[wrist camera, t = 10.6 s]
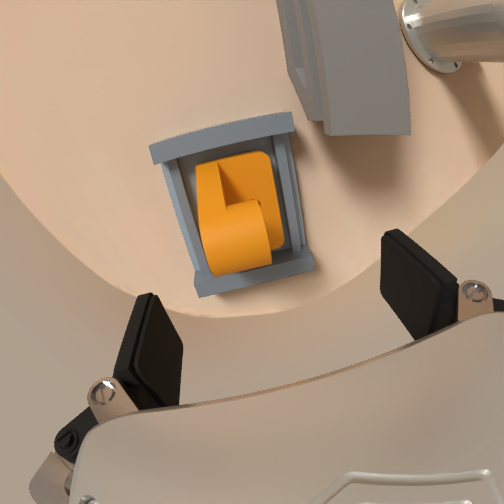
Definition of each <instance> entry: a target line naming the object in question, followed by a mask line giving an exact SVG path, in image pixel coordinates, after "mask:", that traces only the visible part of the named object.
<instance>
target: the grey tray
mask: <svg viewBox="0 0 504 504" xmlns="http://www.w3.org/2000/svg"><path fill="white" fill-rule="evenodd" d="M293 131H295V128H294V123H293V117H292V112H281V113H275V114H269V115H263V116H258V117H253V118H248V119H243V120H238V121H234V122H229V123H225V124H221V125H216V126H212V127H208V128H204V129H200V130H197V131H193V132H189V133H186V134H182V135H179V136H175V137H172V138H169V139H165V140H162V141H159V142H156V143H154V144H152V145H149V149H150V153H151V156H152V160H153V163H154V165H155V164H159V163H161V166H162V170H163V173H164V177H165V180H166V183H167V187H168V190H169V193H170V197H171V200H172V203H173V206H174V209H175V213H176V216H177V219H178V222H179V225H180V228H181V231H182V234H183V237H184V240H185V243H186V246H187V249H188V252H189V255H190V258H191V260H192V263H193V266H194V269H195V278H194V286H195V289H196V291H197V294H198V296H199V298H201V297H206V296H210V295H214V294H219V293H223V292H227V291H232V290H236V289H240V288H244V287H248V286H253V285H257V284H261V283H265V282H269V281H273V280H277V279H281V278H285V277H289V276H293V275H297V274H301V273H305V272H308V271H312V270H315V266H314V257H313V254H312V253H311V251H310V250H309V248H308V247H307V245H306V241H305V234H304V227H303V219H302V212H301V206H300V199H299V193H298V186H297V180H296V174H295V168H294V162H293V156H292V151H291V145H290V140H289V134H288V132H293ZM255 150H260V151H262V152H264V153H265V154H267V155H268V156H269V158H270V162H271V167H272V172H273V178H274V183H275V189H276V194H277V200H278V205H279V211H280V217H281V223H282V228H283V234H284V243H283V245H282V246H281V247H279V248H277V249H273V250H270V251H271V258H272V264H269V265H265V266H260V267H256V268H252V269H248V270H244V271H239V272H235V273H231V274H227V275H222V276H218V277H214V276H213V274H212V272H211V270H210V268H209V265H208V262H207V259H206V255H205V252H204V248H203V244H202V239H201V234H200V228H199V218H198V203H197V186H196V165H197V164H200V163H203V162H207V161H211V160H215V159H219V158H224V157H228V156H232V155H237V154H241V153H246V152H250V151H255ZM252 200H254V199H252Z"/></svg>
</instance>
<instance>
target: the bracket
mask: <svg viewBox="0 0 504 504" xmlns="http://www.w3.org/2000/svg"><path fill="white" fill-rule="evenodd" d="M196 186H197V203H198V218H199V228H200V234H201V239H202V244H203V248H204V252H205V255H206V259H207V262H208V265H209V268H210V270H211V272H212V274H213V276H214V277H218V276H222V275H227V274H231V273H235V272H239V271H244V270H248V269H252V268H256V267H260V266H265V265H269V264H272V258H271V251H270V250H273V249H277V248H279V247H281V246H282V245H283V243H284V234H283V228H282V223H281V217H280V211H279V205H278V200H277V194H276V189H275V183H274V178H273V172H272V167H271V162H270V158H269V156H268V155H267V154H265V153H264V152H262V151H260V150H255V151H250V152H246V153H241V154H237V155H232V156H228V157H224V158H219V159H215V160H211V161H207V162H203V163H200V164H197V165H196ZM252 199H254V200H252Z"/></svg>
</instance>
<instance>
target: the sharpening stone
mask: <svg viewBox="0 0 504 504" xmlns="http://www.w3.org/2000/svg"><path fill="white" fill-rule="evenodd" d="M276 2H277V8H278V13H279V19H280V25H281V31H282V37H283V43H284V50H285V57H286V64H287V71H288V74H289V76H290V78H291V81H292V83H293V85H294V87H295V90H296V92H297V94H298V96H299V99H300V101H301V104H302V106H303V108H304V111H305V113H306V116H307V118H308V120H311V121H323V123H324V135H329V136H343V135H411V124H410V106H409V93H408V83H407V74H406V66H405V59H404V52H403V46H402V40H401V35H400V30H399V25H398V20H397V16H396V11H395V7H394V3H393V0H276Z"/></svg>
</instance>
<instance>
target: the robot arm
mask: <svg viewBox="0 0 504 504" xmlns="http://www.w3.org/2000/svg"><path fill="white" fill-rule="evenodd" d="M399 18H400V24H401V29H402V31H403V34H404V37H405V39H406V41H407V43H408V45H409V46H410V48H411V49H412V51H413V52H414V53H415V54H416V56H417V57H418V58H419V59H420V60H421V61H422V62H423V63H424V64H425V65H427V66H428V67H429V68H431V69H433V70H435V71H437V72H440V73H453V72H455V71H457V70H458V69H459V68H460V67H461V65H462V63H463V62H502V63H504V0H405V1H404V2H403V3H402V5H401V7H400V13H399ZM380 291H381V294H382V296H383V298H384V299H385V300H386V301H387V303H388V304H389V305H390V307H391V308H392V309H393V311H394V312H395V313H396V315H397V316H398V318H399V319H400V320H401V322H402V323H403V324H404V326H405V327H406V329H407V330H408V331H409V333H410V334H411V336H412V337H413V338H414V340H415V341H413V342H411V343H409V344H407V345H404V346H402V347H399V348H397V349H394V350H392V351H390V352H387V353H384V354H382V355H379V356H377V357H374V358H371V359H368V360H366V361H363V362H360V363H357V364H354V365H351V366H348V367H346V368H342V369H339V370H336V371H333V372H330V373H327V374H323V375H320V376H317V377H313V378H310V379H307V380H303V381H299V382H296V383H292V384H288V385H284V386H280V387H276V388H272V389H267V390H263V391H258V392H254V393H249V394H244V395H239V396H234V397H229V398H223V399H217V400H211V401H204V402H199V403H192V404H184V405H179V397H180V383H181V370H182V357H183V343H182V341H181V339H180V337H179V335H178V333H177V331H176V330H175V328H174V326H173V324H172V322H171V320H170V318H169V316H168V315H167V313H166V311H165V309H164V307H163V305H162V303H161V301H160V299H159V297H158V296H157V295H153V294H152V293H147V294H142V295H139V296H138V297H137V299H136V302H135V305H134V308H133V311H132V314H131V317H130V320H129V323H128V326H127V329H126V332H125V335H124V338H123V341H122V345H121V347H120V351H119V354H118V357H117V361H116V364H115V368H114V373H113V377H106V378H102V379H100V380H98V381H97V382H95V383H94V384H93V385H92V387H91V388H90V390H89V392H88V396H87V400H88V404H89V407H88V408H86V409H85V410H84V411H83V412H82V413H80V414H79V415H78V416H77V417H76V418H75V419H73V420H72V421H71V422H70V423H68V424H67V425H66V426H65V427H64V428H62V429H61V430H60V431H59V432H58V434H57V436H56V438H55V441H54V447H55V450H56V452H55V453H53V452H50V454H49V455H48V457H47V458H46V460H45V461H44V463H43V464H42V465H41V467H40V468H39V470H38V471H37V472H36V474H35V475H34V477H33V478H32V480H31V482H30V486H29V490H30V494H31V496H32V498H33V499H34V500H35V502H36V503H37V504H504V300H500V299H495V298H492V293H491V290H490V289H489V288H488V287H487V286H486V285H485V284H484V283H482V282H480V281H476V280H468V281H464V282H463V283H461V285H459V284H458V283H457V278H456V277H455V276H454V275H453V274H451V273H450V272H449V271H448V270H447V269H446V268H445V267H444V266H443V265H441V264H440V263H439V262H438V261H437V260H436V259H435V258H433V257H432V256H431V255H430V254H429V253H427V252H426V251H425V250H424V249H423V248H422V247H420V246H419V245H418V244H417V243H415V242H414V241H413V240H412V239H411V238H409V237H408V236H407V235H406V234H404V233H403V232H402V231H400V230H399V229H393V230H390V231H386V232H385V233H384V236H382V238H381V277H380Z"/></svg>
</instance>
